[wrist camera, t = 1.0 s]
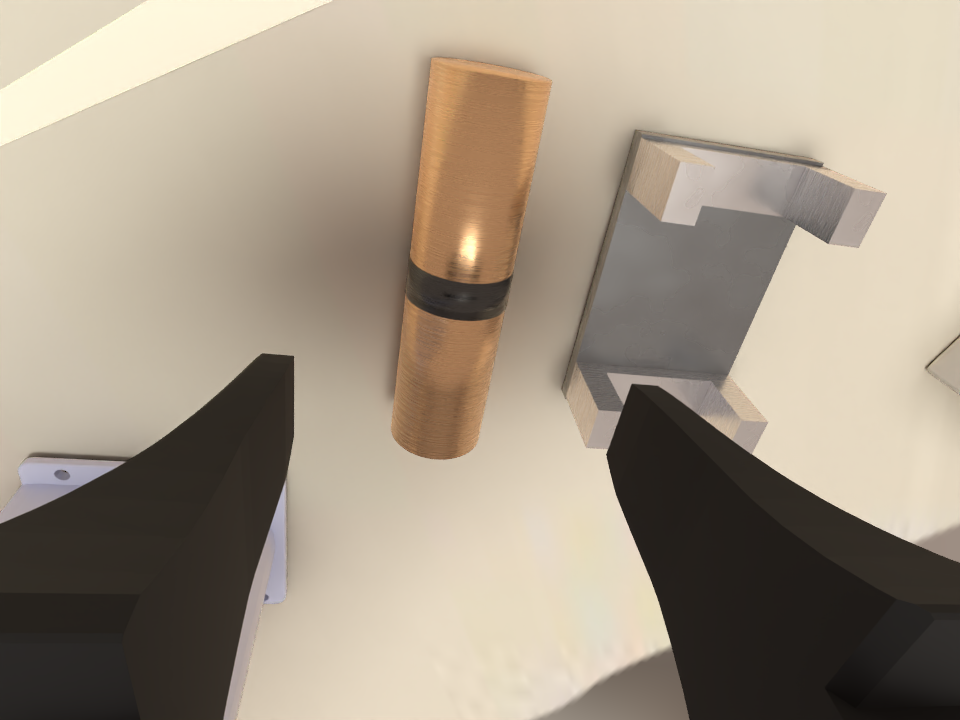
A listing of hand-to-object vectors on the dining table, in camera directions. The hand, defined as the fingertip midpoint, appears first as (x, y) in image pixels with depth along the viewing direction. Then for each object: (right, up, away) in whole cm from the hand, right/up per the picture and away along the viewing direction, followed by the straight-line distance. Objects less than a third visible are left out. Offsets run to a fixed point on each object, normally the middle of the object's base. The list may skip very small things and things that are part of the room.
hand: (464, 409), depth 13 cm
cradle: (+7, +4, +9) cm, 12 cm away
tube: (-1, +4, +7) cm, 8 cm away
